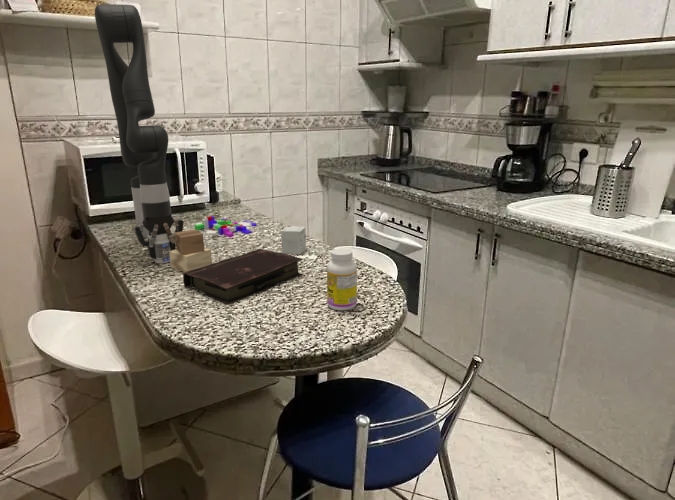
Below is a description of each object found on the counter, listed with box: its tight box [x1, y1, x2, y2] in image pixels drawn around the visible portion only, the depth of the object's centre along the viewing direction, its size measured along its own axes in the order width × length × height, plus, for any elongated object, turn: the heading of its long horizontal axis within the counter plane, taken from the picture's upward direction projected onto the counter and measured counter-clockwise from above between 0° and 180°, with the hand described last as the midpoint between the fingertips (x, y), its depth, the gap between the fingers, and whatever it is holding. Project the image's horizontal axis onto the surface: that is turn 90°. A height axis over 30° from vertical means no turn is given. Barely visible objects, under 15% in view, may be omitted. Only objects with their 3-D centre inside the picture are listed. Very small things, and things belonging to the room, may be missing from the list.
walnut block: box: [174, 228, 205, 255], centre depth 126 cm, size 6×6×5 cm
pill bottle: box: [153, 233, 171, 264], centre depth 132 cm, size 5×5×8 cm
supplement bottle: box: [326, 247, 358, 312], centre depth 101 cm, size 7×7×13 cm
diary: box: [182, 248, 304, 304], centre depth 118 cm, size 19×25×5 cm
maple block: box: [169, 247, 213, 273], centre depth 128 cm, size 8×8×5 cm
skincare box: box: [280, 225, 307, 255], centre depth 140 cm, size 6×6×7 cm
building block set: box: [194, 215, 257, 238], centre depth 169 cm, size 25×20×4 cm
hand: (162, 256), depth 133 cm, fingers closed on pill bottle, 4 cm apart
